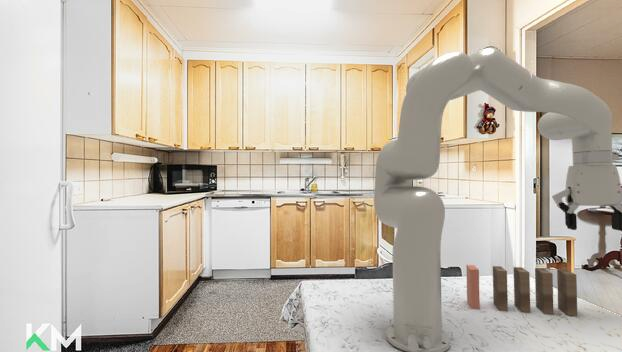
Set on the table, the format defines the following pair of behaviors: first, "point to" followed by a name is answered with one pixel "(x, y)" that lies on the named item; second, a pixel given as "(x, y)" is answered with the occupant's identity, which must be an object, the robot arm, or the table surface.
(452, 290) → the table surface
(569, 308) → the tile
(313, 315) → the table surface
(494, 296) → the tile
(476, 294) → the red tile
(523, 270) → the tile
